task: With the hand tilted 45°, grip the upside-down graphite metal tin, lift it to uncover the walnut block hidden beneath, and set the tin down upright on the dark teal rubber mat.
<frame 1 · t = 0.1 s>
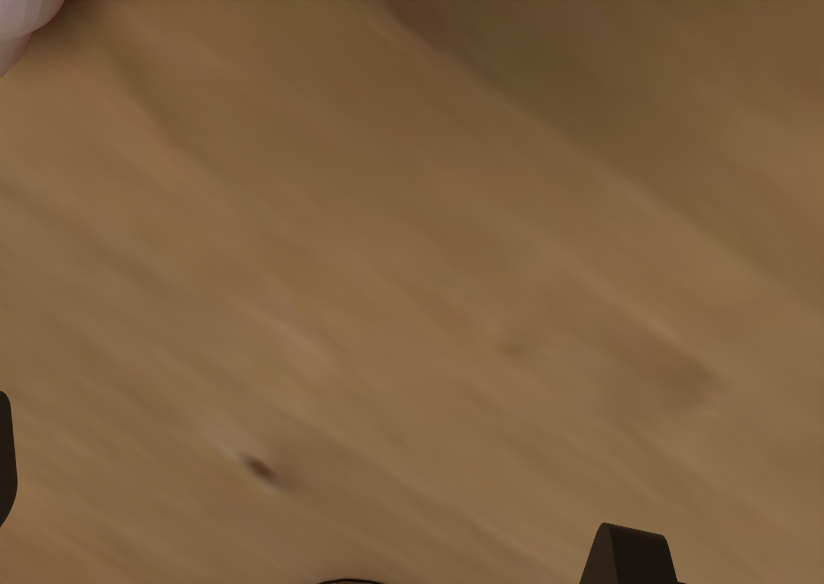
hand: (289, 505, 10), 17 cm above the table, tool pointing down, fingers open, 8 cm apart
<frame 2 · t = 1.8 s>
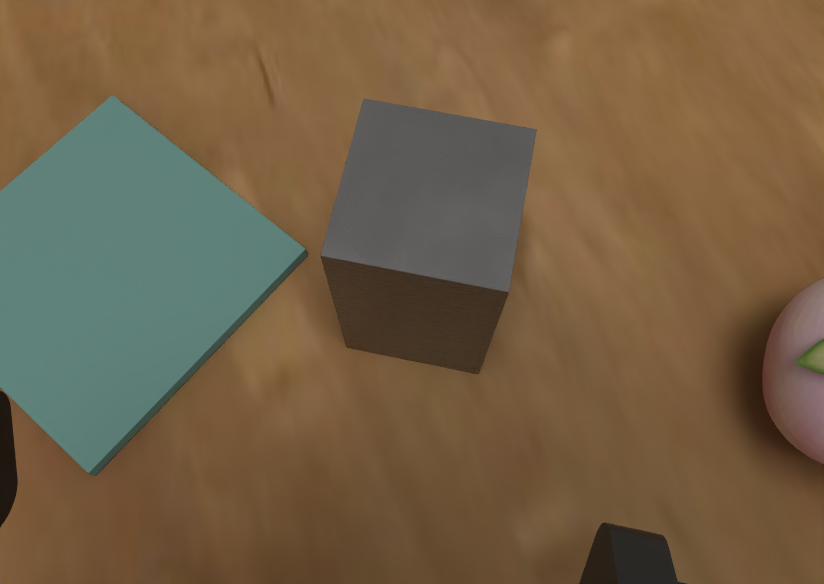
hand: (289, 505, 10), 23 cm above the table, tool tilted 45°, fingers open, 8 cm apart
decorative fruit: (812, 394, 34), on the table
teal mat: (107, 271, 36), on the table
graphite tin: (425, 298, 36), on the table
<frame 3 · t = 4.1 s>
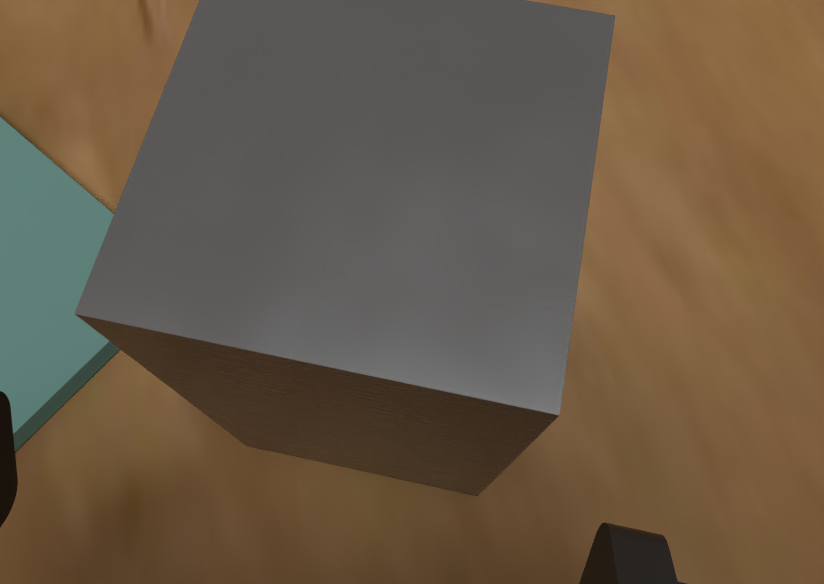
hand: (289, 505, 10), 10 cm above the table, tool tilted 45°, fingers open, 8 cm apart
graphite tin: (386, 358, 21), on the table
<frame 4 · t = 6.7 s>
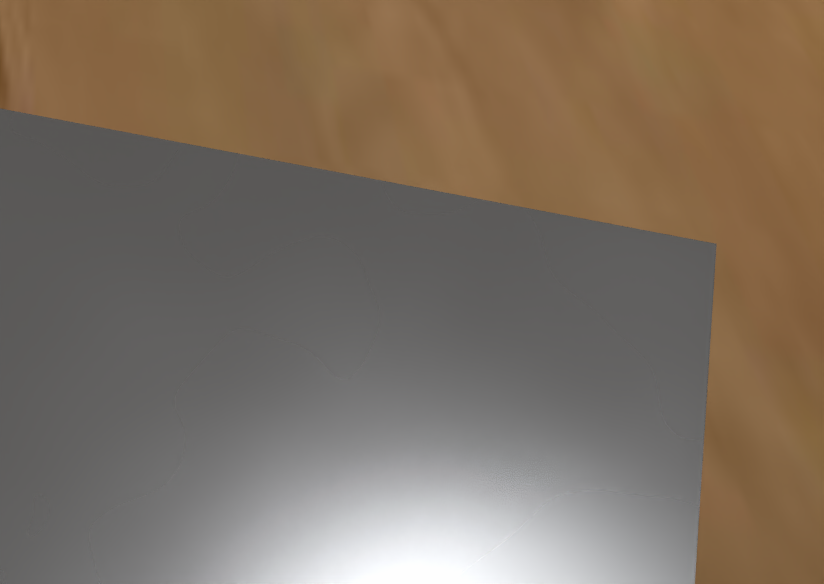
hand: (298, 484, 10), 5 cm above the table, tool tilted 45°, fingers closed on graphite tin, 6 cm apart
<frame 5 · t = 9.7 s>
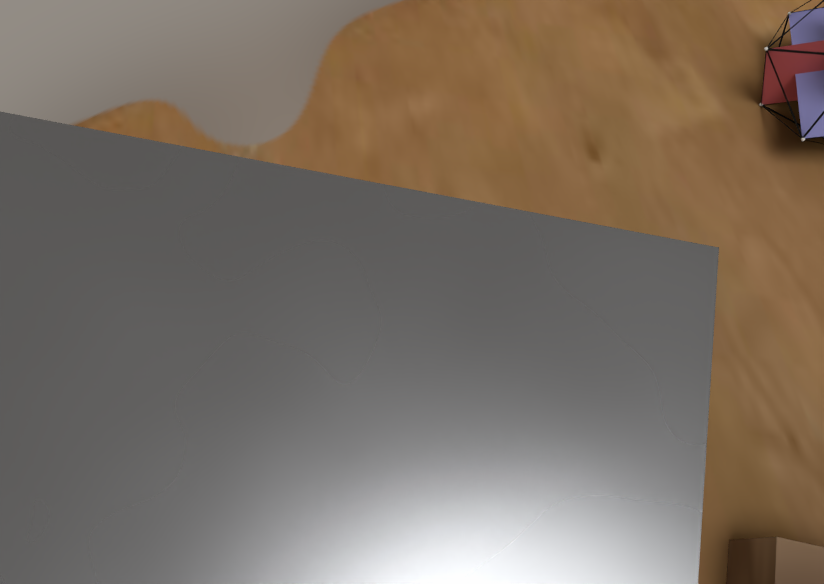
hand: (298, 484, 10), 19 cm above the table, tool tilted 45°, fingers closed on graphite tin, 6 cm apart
geometric puzzle: (808, 112, 35), on the table
when the fingers open (7 cm above the table, at t = 12.9 s): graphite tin drops 1 cm, resting on teal mat.
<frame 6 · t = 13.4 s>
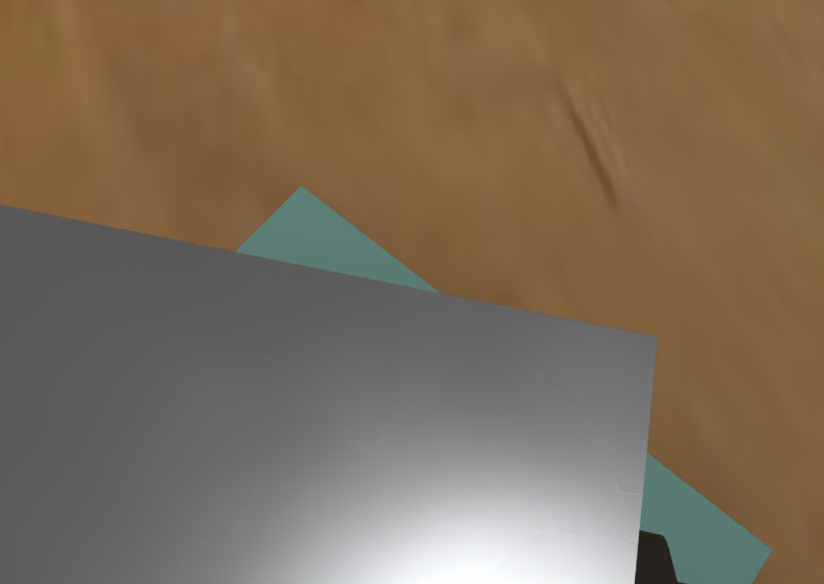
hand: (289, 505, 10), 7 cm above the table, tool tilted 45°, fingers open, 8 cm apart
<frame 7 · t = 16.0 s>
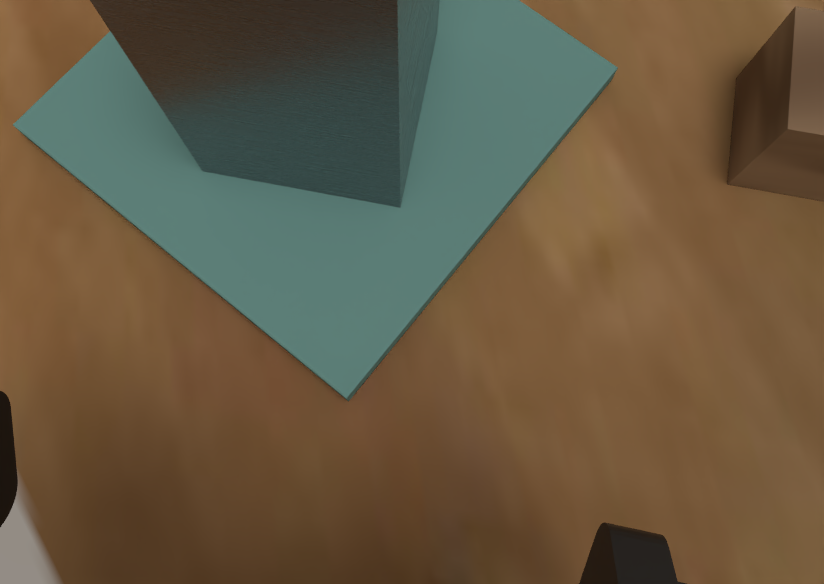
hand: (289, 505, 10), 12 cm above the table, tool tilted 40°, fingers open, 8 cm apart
teal mat: (322, 108, 24), on the table
walnut block: (789, 141, 24), on the table
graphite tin: (323, 99, 24), point 1 cm above the table, touching teal mat
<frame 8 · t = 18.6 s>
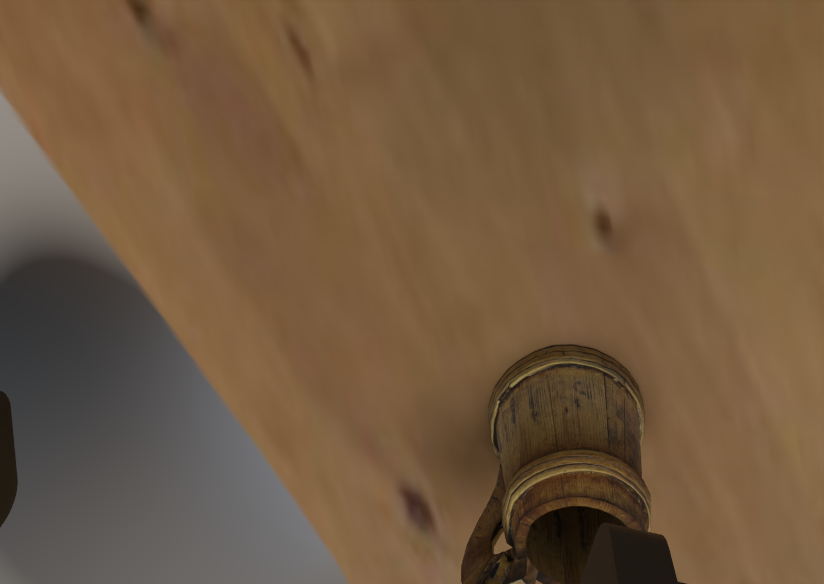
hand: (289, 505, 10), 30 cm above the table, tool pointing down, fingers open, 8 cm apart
wooden mug: (532, 426, 44), on the table
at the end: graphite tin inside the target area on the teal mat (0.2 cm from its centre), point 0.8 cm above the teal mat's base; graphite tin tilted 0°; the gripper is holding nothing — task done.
